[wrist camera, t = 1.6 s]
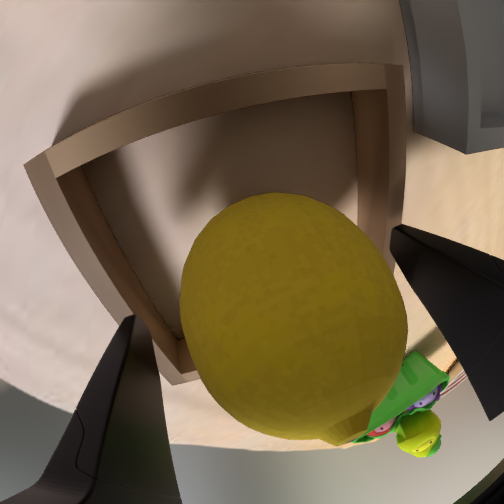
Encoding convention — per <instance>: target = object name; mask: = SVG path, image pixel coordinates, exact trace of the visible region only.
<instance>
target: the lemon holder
mask: <svg viewBox="0 0 504 504" xmlns="http://www.w3.org/2000/svg"><path fill="white" fill-rule="evenodd" d="M345 91H351V92H352V101H353V111H354V122H355V135H356V151H357V176H358V227H359V228H360V229H361V230H362V231H363V232H364V233H365V234H366V235H367V236H368V237H369V238H370V239H371V240H372V242H373V243H374V244H375V245H376V247H377V248H378V250H379V251H380V252H381V254H382V256H383V257H384V259H385V260H386V262H387V264H388V266H389V268H390V270H391V272H392V274H393V273H394V268H395V262H396V261H395V259H394V258H393V256H392V255H391V252H390V249H389V245H390V236H391V230H392V228H393V227H395V226H398V225H400V224H401V220H402V211H403V201H404V188H405V172H406V103H405V87H404V76H403V66H402V65H393V64H377V63H338V64H320V65H308V66H298V67H289V68H281V69H274V70H268V71H262V72H256V73H250V74H245V75H240V76H235V77H230V78H226V79H222V80H217V81H213V82H209V83H205V84H202V85H198V86H194V87H191V88H187V89H184V90H181V91H177V92H174V93H171V94H168V95H165V96H162V97H159V98H156V99H153V100H150V101H148V102H145V103H142V104H140V105H137V106H134V107H132V108H129V109H127V110H124V111H122V112H120V113H117V114H115V115H113V116H110V117H108V118H106V119H104V120H101V121H99V122H97V123H95V124H93V125H91V126H89V127H87V128H85V129H83V130H81V131H79V132H77V133H75V134H73V135H71V136H69V137H67V138H65V139H64V140H62V141H60V142H58V143H56V144H55V145H53V146H51V147H50V148H48V149H46V150H45V151H43V152H42V153H40V154H39V155H37V156H36V157H34V158H33V159H31V160H30V161H28V162H27V163H26V164H24V167H25V170H26V172H27V175H28V177H29V179H30V181H31V184H32V186H33V188H34V190H35V192H36V194H37V196H38V198H39V201H40V203H41V205H42V207H43V209H44V210H45V212H46V214H47V216H48V218H49V220H50V222H51V224H52V226H53V227H54V229H55V231H56V233H57V235H58V236H59V238H60V240H61V242H62V243H63V245H64V247H65V248H66V250H67V252H68V253H69V255H70V256H71V258H72V260H73V261H74V263H75V264H76V266H77V268H78V269H79V271H80V272H81V274H82V275H83V277H84V278H85V280H86V281H87V283H88V284H89V286H90V287H91V288H92V290H93V291H94V293H95V294H96V296H97V297H98V298H99V300H100V301H101V302H102V304H103V305H104V307H105V308H106V309H107V311H108V312H109V313H110V314H111V316H112V317H113V318H114V320H115V321H116V322H117V323H118V325H119V326H120V324H121V322H122V321H123V319H124V318H125V317H126V316H130V315H133V314H137V315H138V316H139V317H140V318H141V319H142V321H143V322H144V324H145V325H146V326H147V328H148V329H149V331H150V333H151V336H152V341H153V346H154V351H155V356H156V361H157V366H158V371H159V372H160V373H161V374H162V375H163V376H164V377H165V379H166V380H167V381H168V382H169V383H170V384H171V385H172V386H173V385H177V384H182V383H186V382H190V381H194V380H198V379H201V378H200V376H199V374H198V372H197V370H196V368H195V365H194V363H193V360H192V357H191V355H190V352H189V349H188V346H187V343H186V340H185V339H181V340H178V341H177V340H176V338H175V337H174V335H173V334H172V332H171V331H170V329H169V328H168V326H167V325H166V323H165V322H164V320H163V319H162V317H161V316H160V314H159V313H158V311H157V310H156V308H155V306H154V305H153V303H152V302H151V300H150V298H149V297H148V295H147V294H146V292H145V290H144V289H143V287H142V285H141V284H140V282H139V280H138V279H137V277H136V275H135V273H134V272H133V270H132V268H131V266H130V265H129V263H128V261H127V259H126V258H125V256H124V254H123V252H122V250H121V248H120V247H119V245H118V243H117V241H116V239H115V237H114V235H113V233H112V231H111V229H110V227H109V225H108V223H107V221H106V219H105V217H104V215H103V213H102V211H101V209H100V207H99V205H98V203H97V201H96V198H95V196H94V194H93V192H92V190H91V187H90V185H89V183H88V181H87V178H86V176H85V174H84V171H83V169H82V166H81V165H82V164H84V163H86V162H89V161H91V160H93V159H95V158H97V157H99V156H101V155H104V154H106V153H108V152H110V151H113V150H115V149H117V148H120V147H122V146H125V145H127V144H130V143H132V142H135V141H137V140H140V139H142V138H145V137H148V136H150V135H153V134H156V133H159V132H161V131H164V130H167V129H170V128H173V127H176V126H179V125H182V124H185V123H189V122H192V121H195V120H199V119H202V118H206V117H209V116H213V115H216V114H220V113H224V112H228V111H232V110H236V109H240V108H244V107H249V106H253V105H258V104H263V103H268V102H273V101H278V100H284V99H290V98H296V97H303V96H310V95H317V94H325V93H334V92H345Z"/></svg>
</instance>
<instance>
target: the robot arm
mask: <svg viewBox="0 0 504 504" xmlns="http://www.w3.org/2000/svg"><path fill="white" fill-rule="evenodd" d="M389 249H390V252H391V255H392V256H393V258H394V259H395V261H396V263H397V264H398V266H399V268H400V269H401V271H402V273H403V274H404V276H405V278H406V279H407V281H408V283H409V284H410V286H411V288H412V289H413V291H414V292H415V293H416V295H417V296H418V298H419V299H420V301H421V302H422V304H423V305H424V306H425V308H426V309H427V311H428V312H429V314H430V315H431V317H432V318H433V320H434V321H435V323H436V325H437V326H438V328H439V329H440V331H441V332H442V334H443V336H444V337H445V339H446V340H447V342H448V344H449V345H450V347H451V349H452V350H453V352H454V354H455V355H456V357H457V359H458V361H459V362H460V364H461V366H462V368H463V369H464V371H465V373H466V375H467V377H468V379H469V381H470V383H471V385H472V386H473V388H474V390H475V392H476V394H477V396H478V398H479V400H480V402H481V404H482V406H483V409H484V411H485V413H486V415H487V417H488V419H489V421H491V420H493V419H494V418H495V417H497V416H498V415H500V414H501V413H502V412H504V260H502V259H499V258H497V257H495V256H492V255H491V256H490V255H489V254H487V253H484V252H482V251H479V250H477V249H474V248H471V247H469V246H466V245H463V244H460V243H458V242H455V241H452V240H449V239H446V238H444V237H441V236H438V235H435V234H432V233H429V232H426V231H423V230H420V229H417V228H414V227H410V226H407V225H404V224H400V225H398V226H395V227H393V228H392V230H391V236H390V245H389ZM76 409H77V410H75V411H74V413H73V415H72V418H71V420H70V422H69V424H68V426H67V428H66V430H65V432H64V434H63V436H62V438H61V440H60V442H59V444H58V446H57V448H56V450H55V451H54V453H53V455H52V457H51V459H50V461H49V463H48V465H47V467H46V468H45V470H44V473H43V474H42V476H41V477H40V479H39V480H38V481H37V482H36V483H35V484H34V485H33V486H31V487H29V488H28V489H26V490H24V491H22V492H20V493H18V494H16V495H14V496H12V497H10V498H8V499H6V500H4V501H1V502H0V504H182V500H181V498H180V493H179V489H178V484H177V480H176V475H175V471H174V466H173V461H172V456H171V451H170V445H169V439H168V433H167V427H166V420H165V413H164V406H163V398H162V390H161V382H160V376H159V371H158V366H157V361H156V356H155V351H154V346H153V341H152V336H151V333H150V331H149V329H148V328H147V326H146V325H145V324H144V322H143V321H142V319H141V318H140V317H139V316H138V315H137V314H133V315H130V316H126V317H125V318H124V319H123V321H122V322H121V324H120V326H119V328H118V329H117V331H116V333H115V335H114V336H113V338H112V340H111V342H110V343H109V345H108V347H107V349H106V351H105V352H104V354H103V356H102V358H101V360H100V362H99V364H98V365H97V367H96V369H95V371H94V373H93V375H92V377H91V379H90V381H89V383H88V385H87V387H86V389H85V391H84V393H83V395H82V397H81V399H80V401H79V403H78V405H77V407H76ZM453 504H504V459H503V460H502V461H501V462H500V463H499V464H498V465H497V466H496V467H495V468H494V469H493V470H492V471H491V472H490V473H489V474H488V475H487V476H485V478H483V479H482V480H481V481H480V482H479V483H478V484H477V485H475V486H474V487H473V488H472V489H471V490H470V491H468V492H467V493H466V494H465V495H464V496H462V497H461V498H460V499H458V500H457V501H456V502H455V503H453Z"/></svg>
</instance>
